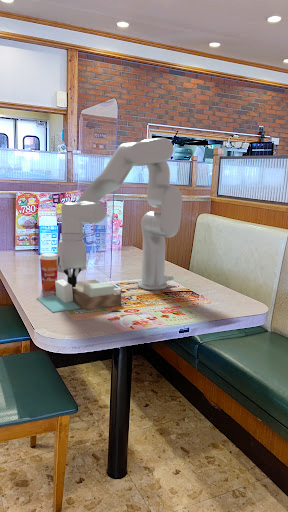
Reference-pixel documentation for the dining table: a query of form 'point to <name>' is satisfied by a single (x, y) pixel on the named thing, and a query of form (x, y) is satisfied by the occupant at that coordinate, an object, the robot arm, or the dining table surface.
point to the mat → (57, 304)
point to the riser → (93, 302)
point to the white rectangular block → (64, 290)
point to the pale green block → (98, 289)
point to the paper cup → (48, 271)
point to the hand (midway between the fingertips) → (72, 286)
